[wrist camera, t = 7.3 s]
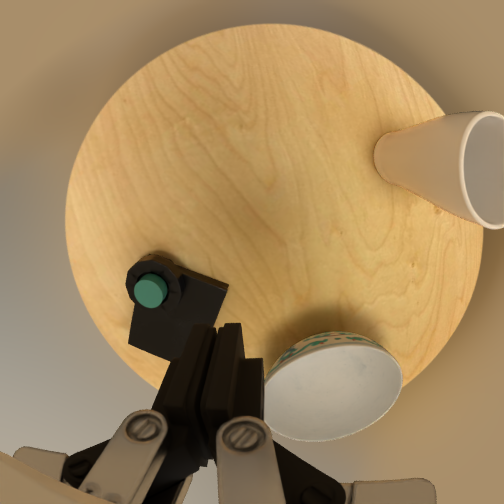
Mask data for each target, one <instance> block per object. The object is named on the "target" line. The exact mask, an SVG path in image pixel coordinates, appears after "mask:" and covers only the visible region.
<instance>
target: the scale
mask: <svg viewBox="0 0 504 504" xmlns="http://www.w3.org/2000/svg"><path fill="white" fill-rule="evenodd" d="M146 274H156V275H158V276H160V277H161V278H162V279H163V280H164V281H165V283H166V285H167V295H166V296H165V298H164V299H163V301H162V302H161V304H160V305H159V306H157V307H155V308H148V307H145V306H143V305H142V304H140V303H139V302H138V300H137V299H136V297H135V294H134V288H135V285H136V284H137V283H138V281H139V280H140V279H141V278H142V277H143V276H144V275H146ZM228 286H229V285H228V284H225V283H223V282H220V281H217V280H215V279H212V278H209V277H207V276H204V275H202V274H199V273H196V272H194V271H191V270H189V269H186V268H183V267H181V266H178V265H176V264H174V263H173V262H172V261H171V260H169V259H167V258H164V257H162V256H159V255H151V254H149V255H148V256H144V257H142V258H141V259H140V260H139V261H138V262H136V263H135V264H134V265H133V266H132V267H131V268H130V269H129V270H128V273H127V278H126V288H127V291H128V294H129V297H130V299H131V300H132V301H133V302H134V303H135V305H134V311H133V316H132V322H131V328H130V334H129V340H128V344H130V345H132V346H134V347H137V348H139V349H141V350H144V351H146V352H148V353H151V354H153V355H155V356H158V357H160V358H163V359H165V360H168V361H170V362H171V360H172V359H173V358H180V357H181V355H182V352H183V350H184V347H185V345H186V342H187V340H188V337H189V334H190V332H191V329H192V327H193V325H194V324H208V323H209V324H210V326H211V327H213V326H214V323H215V321H216V318H217V316H218V313H219V311H220V308H221V305H222V303H223V300H224V298H225V295H226V293H227V290H228Z"/></svg>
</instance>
